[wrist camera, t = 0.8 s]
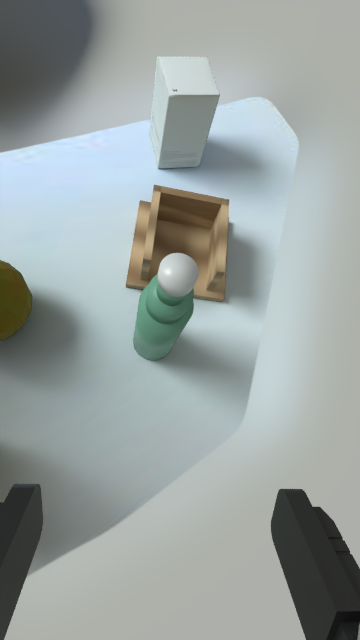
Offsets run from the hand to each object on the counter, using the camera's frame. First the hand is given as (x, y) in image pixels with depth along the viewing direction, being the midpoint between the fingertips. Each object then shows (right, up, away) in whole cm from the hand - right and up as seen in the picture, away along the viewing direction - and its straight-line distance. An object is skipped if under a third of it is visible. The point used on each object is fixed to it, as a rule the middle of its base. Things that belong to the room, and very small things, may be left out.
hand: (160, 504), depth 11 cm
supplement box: (0, +35, +44) cm, 56 cm away
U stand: (+1, +16, +38) cm, 41 cm away
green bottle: (-3, +3, +33) cm, 33 cm away
